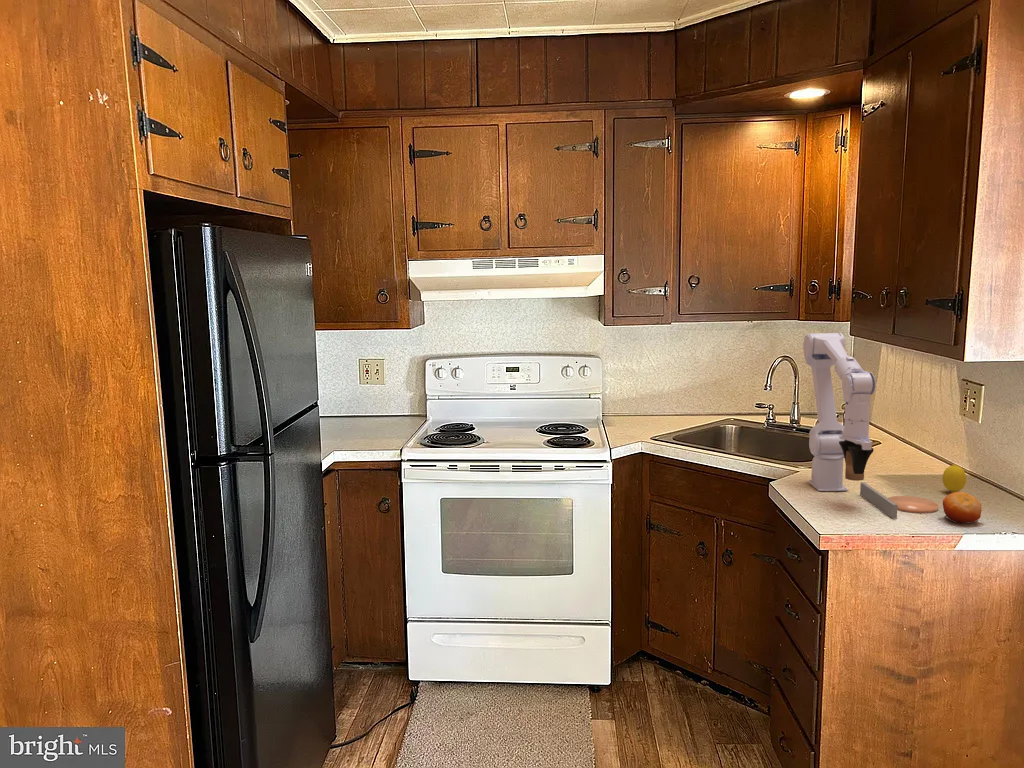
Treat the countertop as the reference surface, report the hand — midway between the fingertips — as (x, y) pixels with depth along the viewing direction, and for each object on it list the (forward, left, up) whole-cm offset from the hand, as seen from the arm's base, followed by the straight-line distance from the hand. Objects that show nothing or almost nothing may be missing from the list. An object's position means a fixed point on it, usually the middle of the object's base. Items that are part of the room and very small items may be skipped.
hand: (854, 471), depth 190 cm
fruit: (+12, +21, -10) cm, 26 cm away
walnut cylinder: (0, 0, -2) cm, 2 cm away
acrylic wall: (0, +6, -9) cm, 11 cm away
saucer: (0, +15, -9) cm, 17 cm away
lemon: (-11, +31, -10) cm, 34 cm away
